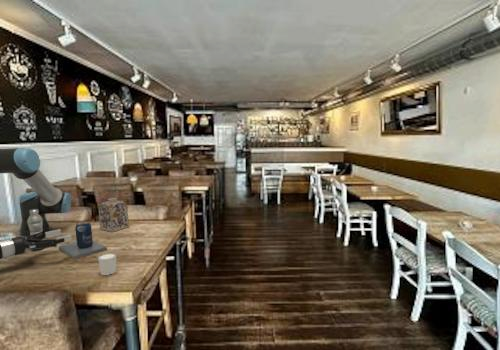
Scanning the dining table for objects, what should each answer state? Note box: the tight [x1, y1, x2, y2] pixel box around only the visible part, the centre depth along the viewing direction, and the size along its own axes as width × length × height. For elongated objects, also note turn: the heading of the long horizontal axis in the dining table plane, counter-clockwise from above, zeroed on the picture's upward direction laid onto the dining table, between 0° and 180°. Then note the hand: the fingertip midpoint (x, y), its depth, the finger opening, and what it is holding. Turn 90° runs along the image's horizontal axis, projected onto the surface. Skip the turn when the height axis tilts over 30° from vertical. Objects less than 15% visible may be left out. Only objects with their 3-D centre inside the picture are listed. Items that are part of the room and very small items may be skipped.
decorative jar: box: [98, 197, 130, 233], centre depth 204 cm, size 12×12×18 cm
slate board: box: [58, 240, 108, 260], centre depth 170 cm, size 20×15×2 cm
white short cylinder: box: [97, 253, 117, 276], centre depth 142 cm, size 7×7×7 cm
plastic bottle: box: [27, 209, 46, 251], centre depth 172 cm, size 6×7×20 cm
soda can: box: [75, 220, 94, 249], centre depth 169 cm, size 7×7×12 cm
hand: (65, 234), depth 163 cm, fingers open, 13 cm apart
